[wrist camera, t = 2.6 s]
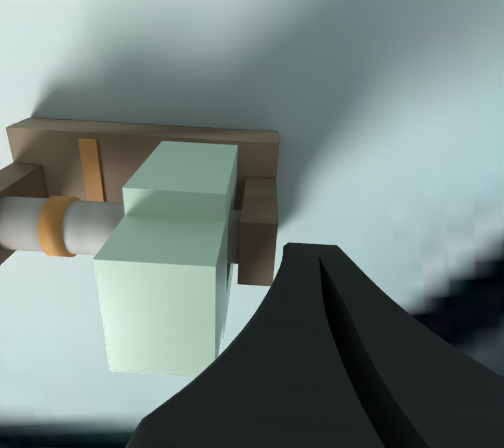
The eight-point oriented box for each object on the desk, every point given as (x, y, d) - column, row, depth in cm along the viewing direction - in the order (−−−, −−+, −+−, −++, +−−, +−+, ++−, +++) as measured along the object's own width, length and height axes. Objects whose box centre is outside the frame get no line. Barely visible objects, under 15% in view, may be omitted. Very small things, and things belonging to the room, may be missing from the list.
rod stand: (277, 131, 15) (281, 181, 10) (269, 238, 17) (269, 319, 12) (29, 117, 15) (-74, 160, 10) (50, 225, 17) (-29, 300, 12)
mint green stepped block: (238, 145, 13) (216, 235, 8) (233, 262, 15) (214, 399, 10) (162, 140, 13) (88, 227, 8) (168, 258, 15) (112, 392, 10)
